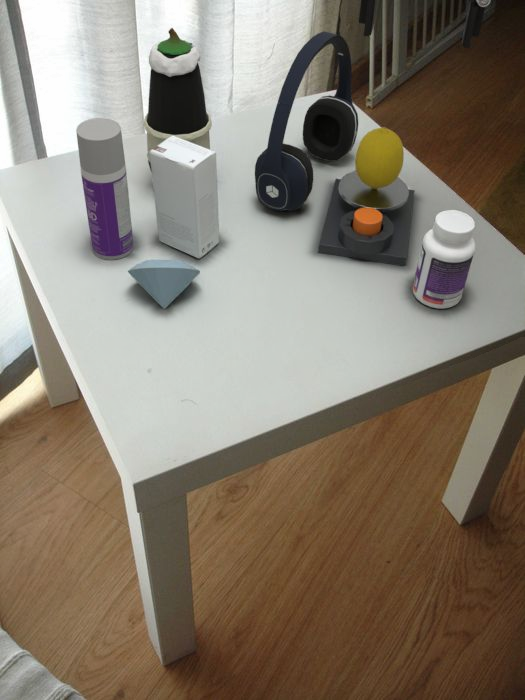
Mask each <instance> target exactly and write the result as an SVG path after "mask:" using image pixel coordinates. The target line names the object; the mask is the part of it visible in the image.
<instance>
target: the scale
mask: <svg viewBox="0 0 525 700" xmlns="http://www.w3.org/2000/svg"><path fill="white" fill-rule="evenodd" d="M341 179H342V178H335V180H334V184H333V188H332V191H331V195H330V199H329V203H328V207H327V211H326V215H325V220H324V223H323V227H322V231H321V234H320V239H319V242H318V250H317V251H318V253H322V254H327V255H334V256H340V257H347V258H351V259H358V260H359V259H360V260H364V261H365V260H366V261H371V262H376V263H377V262H378V263H384V264H390V265H397V266H403V267H405V266H406V262H407V255H408V246H409V238H410V231H411V223H412V215H413V207H414V206H413V205H414V199H415V192H416V191H415V189H409V188H408V190H409V195H408V199H407V201H406V202H405V204H403V205H402V206H401V207H399V208H397V209H394V210H391V211H385V212H380V213H381V214H382V217H383V218H382V224H381V229H380V232H379V233H378V234H376V235H371V236H368V235H362V234H359V233H357V232H355V231H354V229H353V220H354V214H355V212H356V210H358V209H359V208H356V207H354V206H352V205H350V204H349V203H347V202H346V201H345V200H344V199H343V198H342V197H341V195H340V193H339V183H340V180H341Z"/></svg>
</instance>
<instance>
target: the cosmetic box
mask: <svg viewBox="0 0 525 700" xmlns="http://www.w3.org/2000/svg"><path fill="white" fill-rule="evenodd" d="M149 154H150V162H151V170H150V172H151V171H152V173H151V180H152V187H153V197H154V205H155V207H154V208H155V215H156V224H157V233H158V241H159V242H160V243H162V244H165V245H168V246H170V247H172V248H175V249H177V250H179V251H181V252H183V253H185V254H188V255H190V256H192V257H194V258H196V259H201V258H202V257H204V256H205V255H206V254H207V253H209V252H210V251H211V250H213V249H214V247H216V246H217V245H218V244H219V242H220V224H219V223H220V221H219V197H218V193H219V192H218V173H217V172H218V170H217V152H216V151H215V150H212V149H210V150H209V149H207V148H204V147H201V146H199V145H196V144H193V143H191V142H188V141H186V140H183V139H180V138H178V137H175V136H171V137H169V138H168V139H166V140H165V141H163V142H162V143H161V144H159V145H158V146H156V147H155V148H154V149H152V150H151V151H150V152H149Z"/></svg>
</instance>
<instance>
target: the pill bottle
mask: <svg viewBox="0 0 525 700" xmlns="http://www.w3.org/2000/svg"><path fill="white" fill-rule="evenodd" d="M475 225H476V224H475V220H474V219H473V217H472V216H470V215H469V214H467V213H465V212H464V211H460V210H453V209H449V210H448V209H447V210H443V211H441V212H439V213H437V214H436V216H435V219H434V223H433V226H432V228H431V229H429V230H428V231H427V232H426V233H425V234H424V236H423V239H422V243H421V248H420V252H419V257H418V261H417V266H416V269H415V275H414V279H413V284H412V293H413V295H414V297H415V298H416V300H418V301H419V303H421V304H423V305H425V306H427V307H429V308H433V309H438V310H439V309H449V308H452V307H454V306H456V305H457V304H458V303H460V301H461V300H462V297H463V294H464V290H465V287H466V282H467V280H468V276H469V272H470V269H471V265H472V263H473V259H474V256H475V252H476V243H475V240H474V238H473V234H474V231H475Z"/></svg>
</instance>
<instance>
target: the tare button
mask: <svg viewBox="0 0 525 700" xmlns="http://www.w3.org/2000/svg"><path fill="white" fill-rule="evenodd" d="M382 218H383V217H382V214H381V213H380V212H379V211H378V210H376V209H373V208H368V207H365V208H360V209H358V210H356V212H355V214H354V220H353V229H354V231H355V232H357V233H359V234H362V235H368V236H371V235H376V234H378V233H379V232H380V229H381V224H382Z"/></svg>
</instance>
